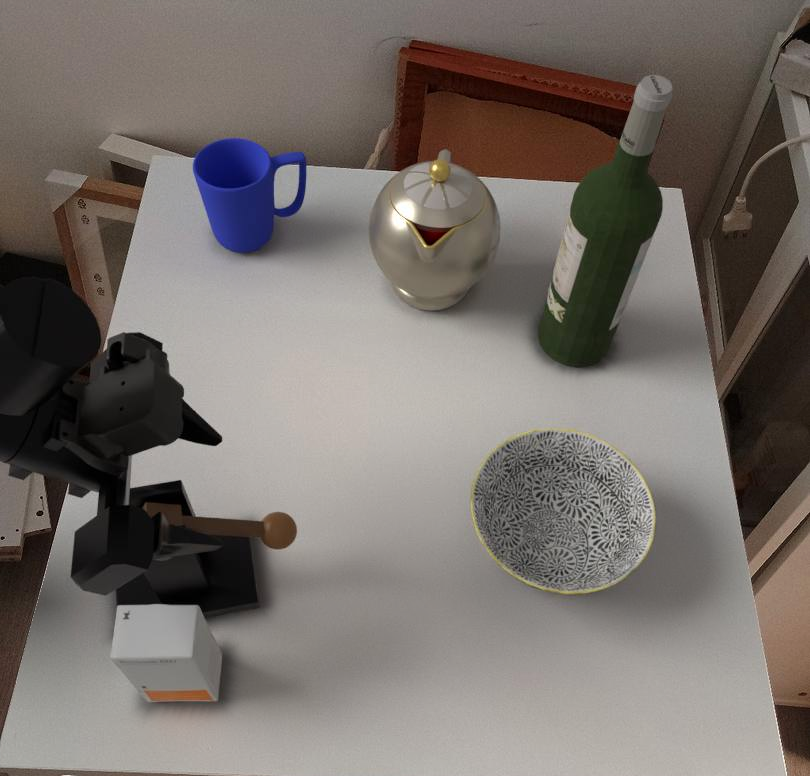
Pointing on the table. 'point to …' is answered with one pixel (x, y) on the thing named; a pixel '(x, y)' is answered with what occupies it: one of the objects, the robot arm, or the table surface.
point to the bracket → (193, 567)
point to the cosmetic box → (167, 652)
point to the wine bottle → (606, 238)
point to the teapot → (434, 232)
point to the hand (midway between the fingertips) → (219, 492)
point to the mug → (243, 191)
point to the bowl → (563, 511)
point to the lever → (233, 525)
